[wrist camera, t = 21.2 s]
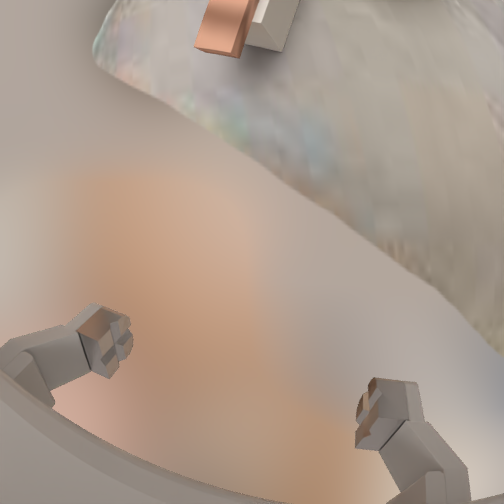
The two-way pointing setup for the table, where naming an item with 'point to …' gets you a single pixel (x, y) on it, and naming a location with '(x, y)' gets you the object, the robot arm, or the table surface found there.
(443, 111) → the table surface
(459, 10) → the table surface
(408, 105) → the table surface
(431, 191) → the table surface
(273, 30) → the shelf
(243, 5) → the bar
